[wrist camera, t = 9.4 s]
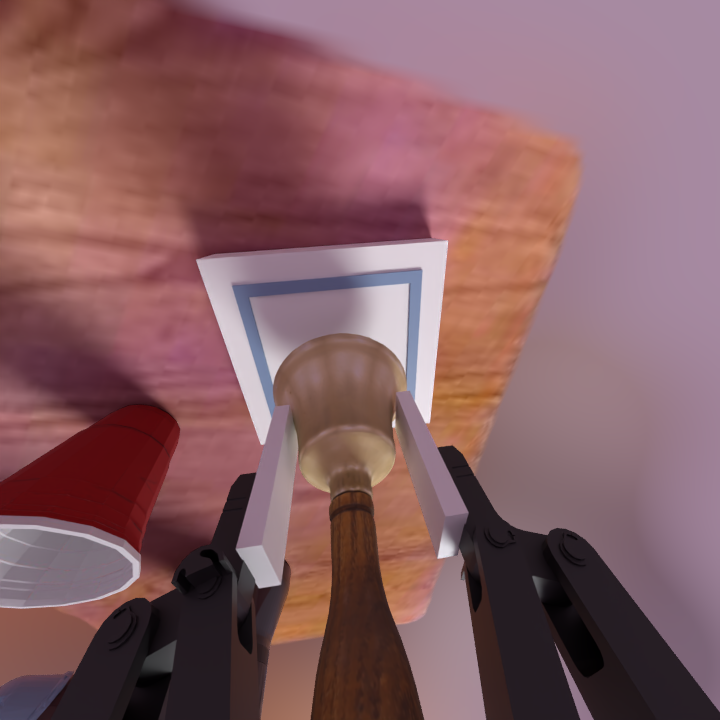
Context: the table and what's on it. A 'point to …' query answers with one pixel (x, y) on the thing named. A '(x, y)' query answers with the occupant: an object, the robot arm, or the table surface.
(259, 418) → the display board
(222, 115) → the table surface
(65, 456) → the plastic cup
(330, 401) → the hand bell
